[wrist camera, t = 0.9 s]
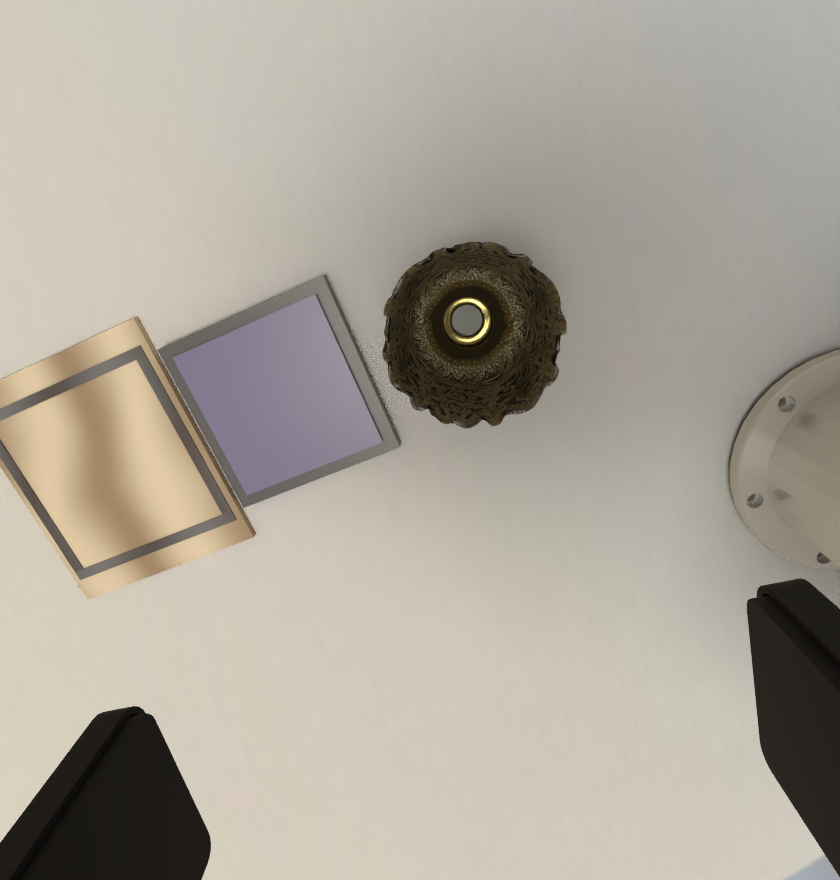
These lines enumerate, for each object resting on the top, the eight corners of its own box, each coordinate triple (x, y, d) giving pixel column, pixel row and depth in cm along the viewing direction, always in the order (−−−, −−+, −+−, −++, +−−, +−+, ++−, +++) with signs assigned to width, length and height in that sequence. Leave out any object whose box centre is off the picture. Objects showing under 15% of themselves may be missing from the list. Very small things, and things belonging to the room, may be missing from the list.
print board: (137, 317, 31) (132, 318, 31) (255, 533, 35) (252, 537, 34) (-38, 398, 33) (-45, 400, 33) (91, 596, 37) (86, 600, 36)
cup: (408, 235, 29) (393, 226, 22) (550, 257, 29) (585, 256, 22) (389, 377, 32) (370, 414, 24) (521, 398, 32) (544, 441, 24)
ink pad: (325, 275, 30) (321, 275, 29) (400, 443, 33) (399, 448, 32) (163, 347, 32) (154, 350, 31) (247, 502, 34) (241, 509, 33)
